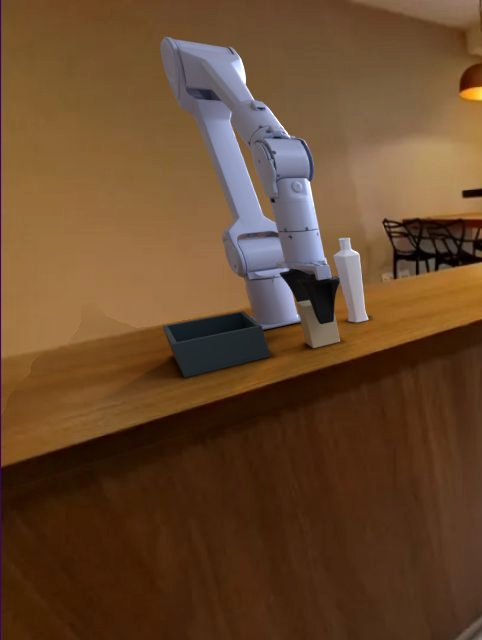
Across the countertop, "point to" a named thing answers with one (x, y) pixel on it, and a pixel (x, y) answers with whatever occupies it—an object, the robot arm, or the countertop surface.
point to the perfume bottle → (351, 280)
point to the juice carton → (316, 327)
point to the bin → (216, 342)
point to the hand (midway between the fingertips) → (317, 317)
